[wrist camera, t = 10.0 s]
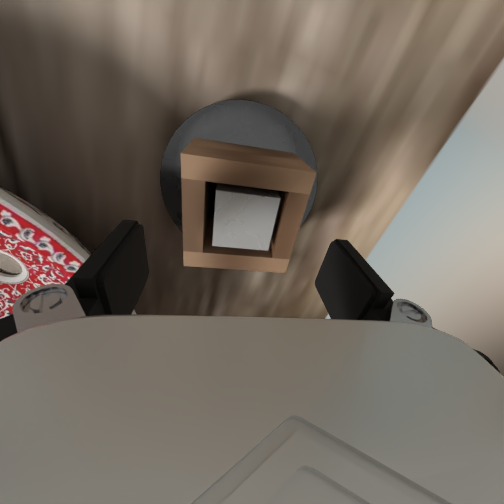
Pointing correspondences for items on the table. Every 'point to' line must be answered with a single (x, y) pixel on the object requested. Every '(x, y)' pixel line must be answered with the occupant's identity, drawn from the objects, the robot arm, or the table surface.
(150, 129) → the table surface
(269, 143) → the post base
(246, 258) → the hollow wooden square
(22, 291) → the ceramic bowl
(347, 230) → the table surface
